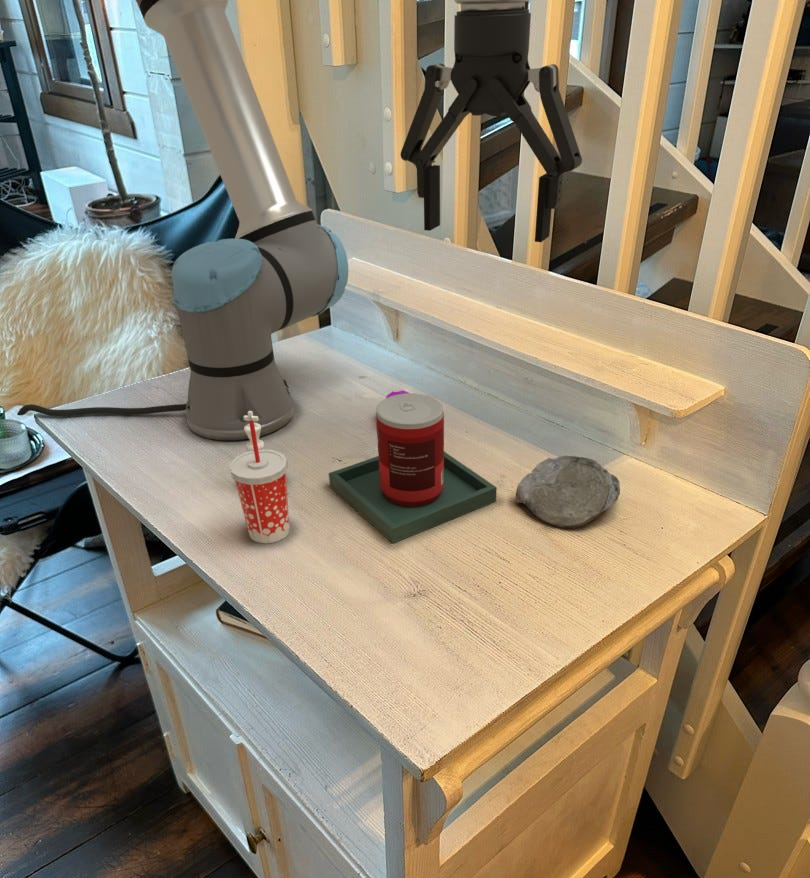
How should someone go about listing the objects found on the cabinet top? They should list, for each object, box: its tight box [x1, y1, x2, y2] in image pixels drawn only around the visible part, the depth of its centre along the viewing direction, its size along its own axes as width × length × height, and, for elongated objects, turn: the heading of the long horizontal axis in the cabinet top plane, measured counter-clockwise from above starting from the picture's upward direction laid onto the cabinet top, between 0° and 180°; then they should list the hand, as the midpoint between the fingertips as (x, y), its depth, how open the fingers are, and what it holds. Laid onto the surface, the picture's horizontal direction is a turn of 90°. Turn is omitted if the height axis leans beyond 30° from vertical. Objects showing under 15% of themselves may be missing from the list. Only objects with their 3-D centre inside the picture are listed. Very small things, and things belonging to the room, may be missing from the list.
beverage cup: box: [228, 420, 291, 544], centre depth 82 cm, size 6×6×14 cm
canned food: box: [375, 392, 445, 507], centre depth 88 cm, size 8×8×11 cm
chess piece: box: [243, 411, 265, 451], centre depth 92 cm, size 5×5×10 cm
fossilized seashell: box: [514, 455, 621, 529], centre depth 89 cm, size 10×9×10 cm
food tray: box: [328, 451, 498, 544], centre depth 91 cm, size 15×15×2 cm
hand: (485, 233), depth 87 cm, fingers open, 13 cm apart
